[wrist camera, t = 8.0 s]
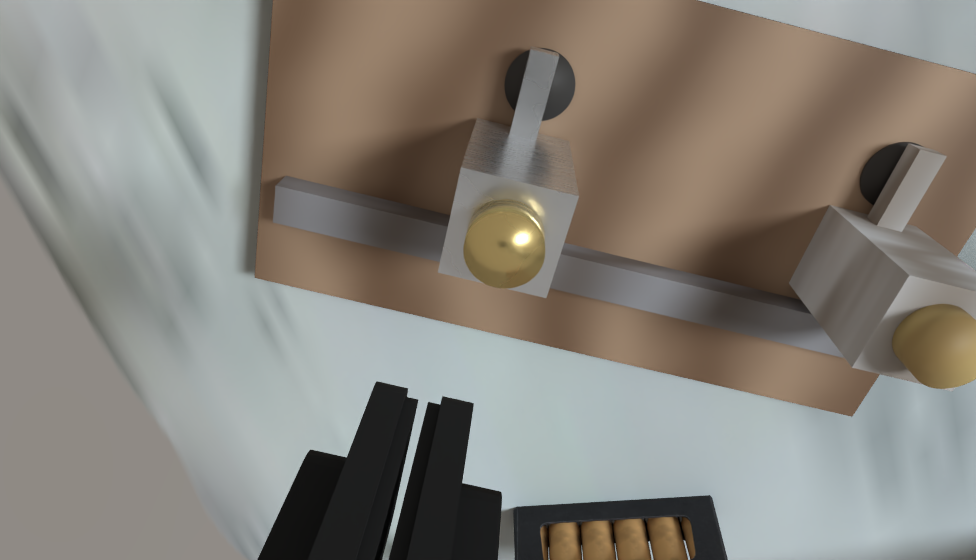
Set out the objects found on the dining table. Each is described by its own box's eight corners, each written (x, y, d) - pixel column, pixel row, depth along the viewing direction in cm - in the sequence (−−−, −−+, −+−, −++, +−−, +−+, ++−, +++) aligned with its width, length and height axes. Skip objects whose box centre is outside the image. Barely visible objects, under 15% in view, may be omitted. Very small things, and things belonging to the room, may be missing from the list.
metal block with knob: (593, 60, 23) (616, 106, 16) (543, 225, 26) (546, 317, 20) (495, 35, 23) (480, 72, 16) (457, 204, 26) (432, 290, 19)
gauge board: (1037, 90, 24) (1267, 157, 16) (841, 400, 31) (938, 545, 23) (291, -107, 22) (171, -132, 15) (264, 265, 29) (173, 375, 22)
